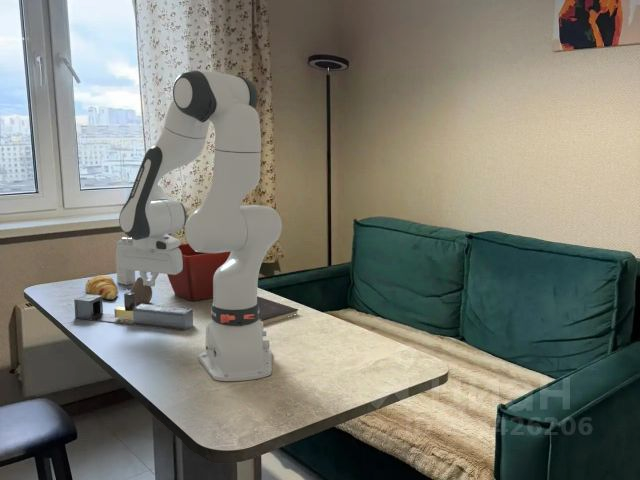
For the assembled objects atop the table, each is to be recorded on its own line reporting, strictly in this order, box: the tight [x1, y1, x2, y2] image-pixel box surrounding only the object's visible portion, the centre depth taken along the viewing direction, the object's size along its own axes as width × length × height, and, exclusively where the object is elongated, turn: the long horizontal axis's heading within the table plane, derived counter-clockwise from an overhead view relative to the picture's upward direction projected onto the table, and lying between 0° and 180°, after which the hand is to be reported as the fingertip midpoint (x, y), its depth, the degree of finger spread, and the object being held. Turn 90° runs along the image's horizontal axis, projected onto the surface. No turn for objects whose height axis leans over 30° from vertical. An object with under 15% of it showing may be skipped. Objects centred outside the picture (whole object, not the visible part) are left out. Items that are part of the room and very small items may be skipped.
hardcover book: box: [257, 295, 299, 325], centre depth 187 cm, size 16×23×2 cm
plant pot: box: [166, 243, 231, 302], centre depth 202 cm, size 19×19×17 cm
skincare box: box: [115, 250, 136, 286], centre depth 216 cm, size 6×4×12 cm
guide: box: [73, 293, 194, 332], centre depth 174 cm, size 36×6×6 cm, turn 76°
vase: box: [130, 276, 153, 306], centre depth 191 cm, size 7×7×9 cm
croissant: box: [84, 274, 119, 300], centre depth 201 cm, size 21×10×8 cm, turn 42°
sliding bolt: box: [114, 291, 137, 319], centre depth 172 cm, size 22×3×7 cm, turn 76°
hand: (149, 285), depth 171 cm, fingers closed
